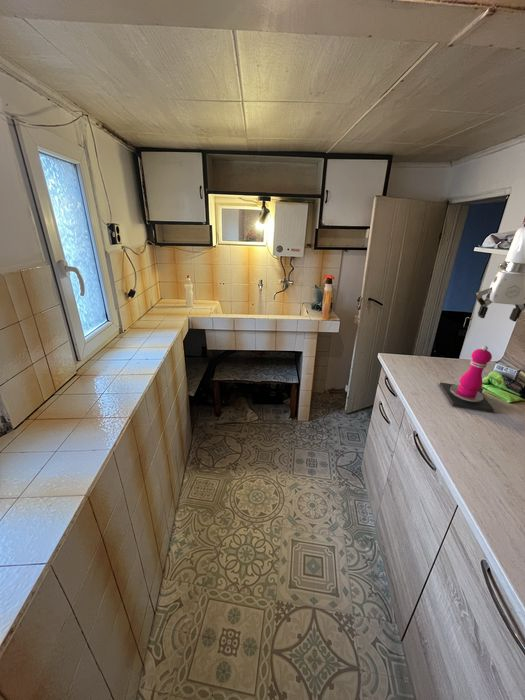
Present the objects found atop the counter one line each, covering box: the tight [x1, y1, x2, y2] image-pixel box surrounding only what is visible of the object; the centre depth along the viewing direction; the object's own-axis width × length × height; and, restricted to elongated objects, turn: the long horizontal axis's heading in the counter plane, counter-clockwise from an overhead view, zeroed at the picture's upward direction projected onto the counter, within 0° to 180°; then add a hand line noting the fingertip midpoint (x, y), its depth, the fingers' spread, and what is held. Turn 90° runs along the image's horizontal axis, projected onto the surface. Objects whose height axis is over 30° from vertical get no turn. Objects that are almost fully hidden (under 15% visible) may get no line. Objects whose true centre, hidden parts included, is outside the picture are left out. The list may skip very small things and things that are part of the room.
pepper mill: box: [458, 345, 493, 397], centre depth 107 cm, size 7×7×20 cm
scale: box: [438, 382, 495, 414], centre depth 113 cm, size 15×16×3 cm
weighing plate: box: [450, 384, 485, 402], centre depth 111 cm, size 11×11×1 cm
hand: (496, 318), depth 98 cm, fingers open, 9 cm apart
